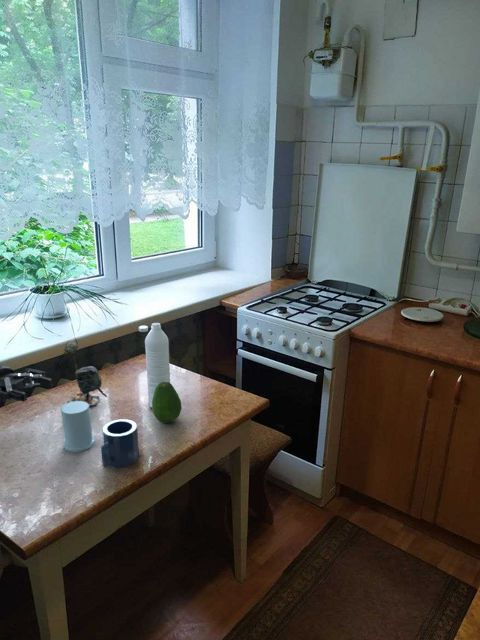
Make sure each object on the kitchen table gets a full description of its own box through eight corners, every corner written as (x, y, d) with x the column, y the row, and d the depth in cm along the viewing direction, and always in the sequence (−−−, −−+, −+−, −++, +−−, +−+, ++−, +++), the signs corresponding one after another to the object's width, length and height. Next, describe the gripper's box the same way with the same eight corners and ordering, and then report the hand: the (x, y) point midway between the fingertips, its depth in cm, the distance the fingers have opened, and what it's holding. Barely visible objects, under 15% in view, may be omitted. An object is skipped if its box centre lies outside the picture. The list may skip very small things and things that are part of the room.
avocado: (147, 421, 136) (145, 381, 132) (171, 411, 141) (169, 373, 137) (164, 432, 131) (162, 391, 126) (188, 422, 136) (187, 383, 132)
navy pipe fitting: (117, 446, 124) (115, 416, 121) (145, 453, 122) (143, 422, 119) (90, 470, 114) (86, 438, 111) (119, 478, 112) (116, 446, 109)
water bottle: (161, 396, 150) (157, 318, 140) (175, 403, 146) (172, 323, 137) (137, 406, 143) (132, 325, 134) (151, 414, 140) (147, 331, 130)
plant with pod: (98, 411, 140) (91, 346, 133) (61, 407, 142) (53, 342, 134) (111, 399, 147) (106, 336, 140) (76, 394, 149) (69, 332, 142)
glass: (93, 450, 122) (88, 413, 118) (61, 452, 121) (56, 415, 117) (96, 434, 129) (92, 399, 125) (66, 436, 127) (61, 400, 124)
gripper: (-37, 375, 122) (13, 388, 116) (11, 355, 134) (57, 366, 129) (-31, 402, 125) (18, 416, 119) (15, 380, 137) (61, 391, 132)
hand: (38, 390), depth 124 cm, fingers open, 8 cm apart
